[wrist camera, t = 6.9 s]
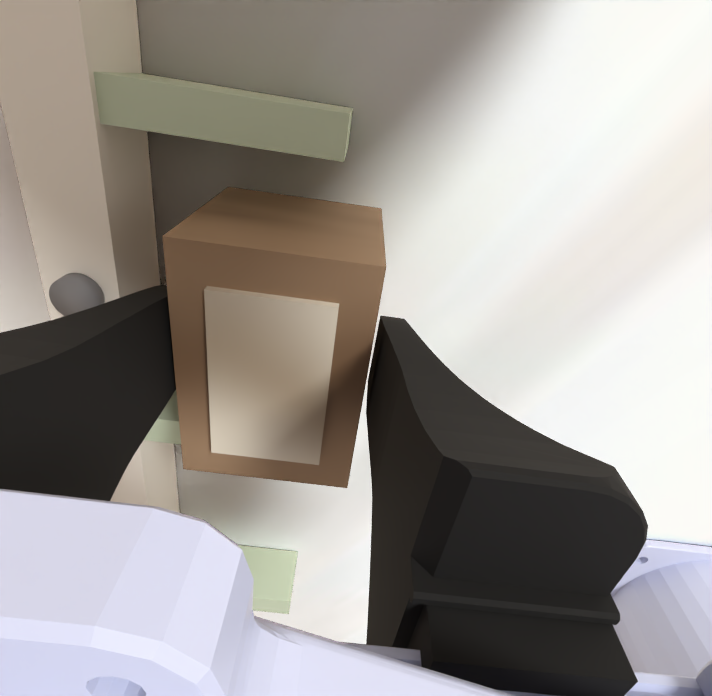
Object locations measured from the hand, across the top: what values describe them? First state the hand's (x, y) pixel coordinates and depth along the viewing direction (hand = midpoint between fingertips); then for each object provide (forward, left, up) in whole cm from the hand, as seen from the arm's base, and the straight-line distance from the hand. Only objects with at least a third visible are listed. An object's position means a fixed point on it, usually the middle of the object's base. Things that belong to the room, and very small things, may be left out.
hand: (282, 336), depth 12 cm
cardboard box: (0, 0, -4) cm, 4 cm away
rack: (-5, +3, -3) cm, 6 cm away
